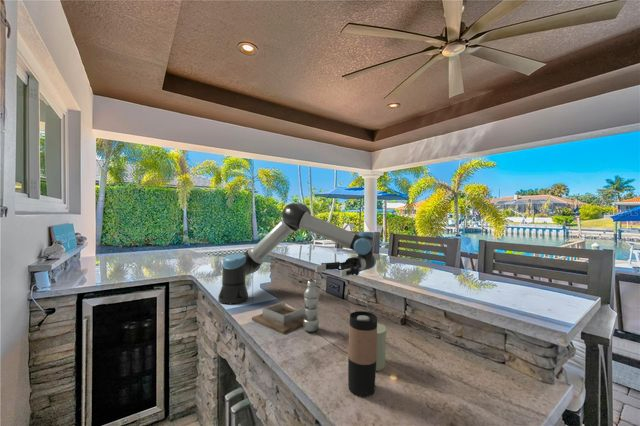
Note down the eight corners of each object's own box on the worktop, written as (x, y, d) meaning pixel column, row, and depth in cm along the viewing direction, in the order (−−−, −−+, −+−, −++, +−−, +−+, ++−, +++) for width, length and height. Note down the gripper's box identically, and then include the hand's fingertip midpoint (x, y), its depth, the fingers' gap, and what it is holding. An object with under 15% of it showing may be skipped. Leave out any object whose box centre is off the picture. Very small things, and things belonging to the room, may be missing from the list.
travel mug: (345, 380, 80) (347, 310, 79) (371, 379, 80) (373, 310, 80) (350, 398, 72) (352, 321, 72) (379, 397, 73) (381, 321, 72)
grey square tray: (283, 309, 131) (284, 301, 131) (304, 317, 122) (305, 308, 122) (262, 317, 121) (262, 308, 121) (283, 326, 113) (283, 316, 112)
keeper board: (285, 308, 136) (285, 305, 136) (316, 319, 123) (316, 316, 123) (251, 320, 121) (251, 317, 121) (283, 334, 108) (283, 331, 108)
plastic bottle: (320, 328, 114) (322, 279, 114) (315, 335, 108) (316, 283, 108) (306, 325, 116) (307, 278, 116) (300, 332, 110) (301, 282, 110)
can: (383, 356, 93) (384, 321, 93) (387, 372, 84) (388, 333, 84) (355, 354, 94) (356, 319, 94) (356, 370, 85) (357, 331, 85)
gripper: (377, 276, 128) (352, 285, 111) (334, 268, 144) (306, 275, 127) (378, 260, 128) (352, 267, 111) (334, 254, 144) (306, 259, 127)
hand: (328, 271), depth 119 cm, fingers open, 13 cm apart
